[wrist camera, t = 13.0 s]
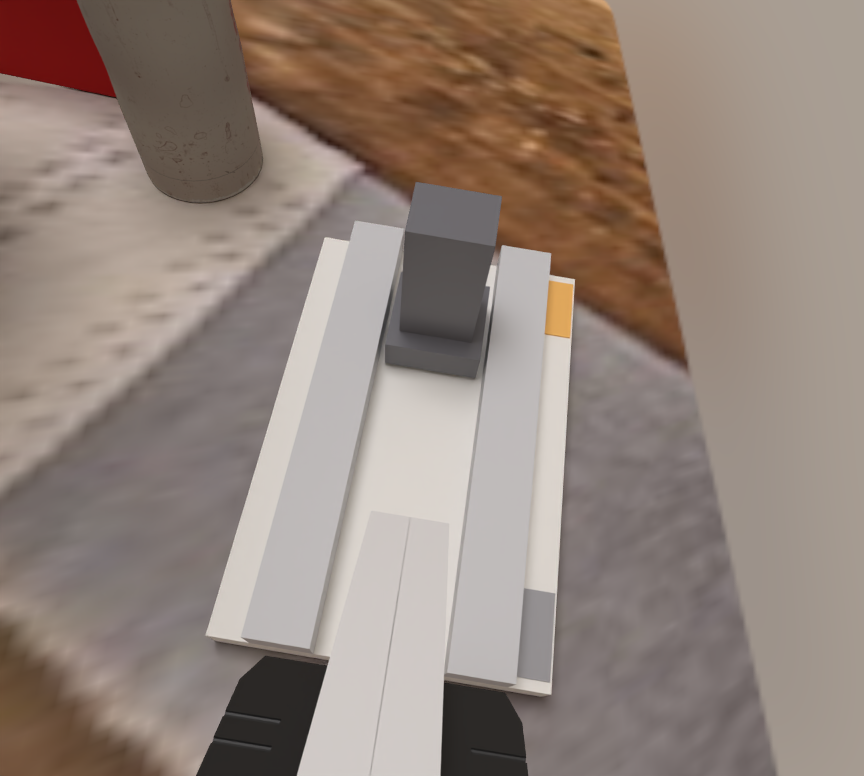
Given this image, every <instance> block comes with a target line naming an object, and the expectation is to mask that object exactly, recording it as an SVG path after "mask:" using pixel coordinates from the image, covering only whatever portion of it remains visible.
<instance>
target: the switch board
mask: <svg viewBox="0 0 864 776" xmlns="http://www.w3.org/2000/svg"><path fill="white" fill-rule="evenodd" d="M403 240H404V229H403V228H397V227H391V226H385V225H379V224H373V223H367V222H361V221H355V223H354V227H353V230H352V234H351V238H350V241H344V240H338V239H333V238H327V237H325V239H324V242H323V245H322V249H321V252H320V255H319V259H318V262H317V265H316V269H315V272H314V275H313V279H312V282H311V285H310V289H309V292H308V295H307V299H306V302H305V305H304V309H303V312H302V315H301V319H300V322H299V325H298V329H297V332H296V335H295V339H294V342H293V345H292V349H291V352H290V355H289V359H288V362H287V365H286V369H285V372H284V376H283V379H282V382H281V386H280V389H279V392H278V396H277V399H276V402H275V406H274V409H273V412H272V416H271V419H270V422H269V426H268V429H267V432H266V436H265V439H264V442H263V446H262V449H261V452H260V456H259V459H258V462H257V466H256V469H255V472H254V476H253V479H252V482H251V486H250V489H249V492H248V496H247V499H246V502H245V506H244V509H243V512H242V516H241V519H240V522H239V526H238V529H237V532H236V536H235V539H234V542H233V546H232V549H231V552H230V556H229V559H228V562H227V566H226V569H225V572H224V576H223V579H222V582H221V586H220V589H219V592H218V596H217V599H216V602H215V606H214V609H213V612H212V616H211V619H210V623H209V626H208V629H207V633H206V636H207V637H209V638H211V639H213V640H214V641H219V642H224V643H230V644H236V645H242V646H248V647H254V648H259V649H265V650H271V651H277V652H283V653H289V654H294V655H300V656H306V657H312V658H318V659H324V660H329V659H330V655H331V652H332V648H333V645H334V641H335V637H336V634H337V630H338V627H339V623H340V620H341V616H342V612H343V609H344V605H345V602H346V598H347V595H348V591H349V588H350V584H351V580H352V577H353V573H354V570H355V566H356V563H357V559H358V555H359V552H360V548H361V545H362V541H363V538H364V534H365V530H366V527H367V523H368V520H369V516H370V513H371V511H377V512H383V513H389V514H395V515H401V516H407V517H413V518H419V519H425V520H431V521H437V522H443V523H449V548H448V576H447V604H446V632H445V660H444V680H446V681H452V682H458V683H464V684H469V685H475V686H481V687H487V688H493V689H499V690H504V691H510V692H516V693H522V694H528V695H534V696H539V697H543V696H547V695H551V688H552V670H553V653H554V635H555V618H556V600H557V582H558V565H559V547H560V530H561V512H562V495H563V477H564V460H565V442H566V425H567V407H568V390H569V372H570V355H571V337H572V320H573V302H574V285H575V279H569V278H563V277H557V276H552V275H549V273H550V260H551V253H545V252H539V251H533V250H527V249H521V248H515V247H509V246H503V245H502V247H501V251H500V255H499V259H498V263H497V266H492V265H491V266H490V270H489V274H488V278H487V282H486V286H489V287H490V292H489V299H488V307H487V314H486V322H485V329H484V336H483V344H482V351H481V359H480V363H479V367H478V370H477V374H476V377H475V378H471V377H465V376H459V375H453V374H447V373H441V372H435V371H429V370H423V369H417V368H412V367H406V366H400V365H394V364H388V363H385V342H386V338H387V333H388V329H389V324H390V320H391V315H392V310H393V306H394V301H395V297H396V292H397V288H398V283H399V279H400V274H401V272H403V258H404V250H403Z"/></svg>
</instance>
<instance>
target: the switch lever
mask: <svg viewBox="0 0 864 776" xmlns="http://www.w3.org/2000/svg"><path fill="white" fill-rule="evenodd" d="M501 200H502V196H496V195H490V194H485V193H479V192H473V191H467V190H461V189H455V188H449V187H443V186H437V185H431V184H425V183H419V182H416V185H415V189H414V193H413V198H412V202H411V207H410V211H409V216H408V220H407V225H406V229H405V241H404V258H403V272H401V274H400V279H399V283H398V288H397V292H396V297H395V301H394V306H393V310H392V315H391V320H390V324H389V329H388V333H387V338H386V342H385V363H388V364H394V365H400V366H406V367H412V368H417V369H423V370H429V371H435V372H441V373H447V374H453V375H459V376H465V377H471V378H475V377H476V374H477V370H478V367H479V363H480V359H481V351H482V344H483V336H484V329H485V322H486V314H487V307H488V299H489V292H490V287H489V286H486V282H487V278H488V274H489V270H490V266H491V262H492V258H493V253H494V249H495V244H496V237H497V230H498V222H499V215H500V207H501Z"/></svg>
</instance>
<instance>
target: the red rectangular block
mask: <svg viewBox="0 0 864 776" xmlns="http://www.w3.org/2000/svg"><path fill="white" fill-rule="evenodd" d="M0 73H2V74H7V75H11V76H16V77H21V78H26V79H31V80H36V81H40V82H45V83H50V84H55V85H59V86H64V87H69V88H74V89H79V90H83V91H88V92H93V93H98V94H103V95H108V96H112V97H116V94H115V91H114V89H113V86H112V83H111V80H110V77H109V75H108V72H107V69H106V67H105V64H104V62H103V60H102V57H101V55H100V53H99V51H98V49H97V47H96V45H95V43H94V40H93V38H92V36H91V34H90V32H89V29H88V27H87V24H86V22H85V20H84V17H83V15H82V12H81V10H80V7H79V5H78V3H77V0H0Z"/></svg>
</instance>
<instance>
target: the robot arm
mask: <svg viewBox="0 0 864 776" xmlns="http://www.w3.org/2000/svg"><path fill="white" fill-rule="evenodd" d="M448 548H449V523H443V522H437V521H431V520H425V519H419V518H413V517H407V516H401V515H395V514H389V513H383V512H377V511H371V513H370V516H369V520H368V523H367V527H366V530H365V534H364V538H363V541H362V545H361V548H360V552H359V555H358V559H357V563H356V566H355V570H354V573H353V577H352V580H351V584H350V588H349V591H348V595H347V598H346V602H345V605H344V609H343V612H342V616H341V620H340V623H339V627H338V630H337V634H336V637H335V641H334V645H333V648H332V652H331V655H330V659H329V662H328V666H325V665H318V664H312V663H306V662H300V661H294V660H288V659H282V658H276V657H270V656H265V657H264V658H262V659H261V660H260V661H259V662H258V663H257V664H256V665H255V666H254V667H253V668H251V669H250V670H249V671H248V672H247V673H246V674H245V675H244V676H243V677H242V678H240V680H239V682H238V684H237V686H236V688H235V691H234V693H233V695H232V697H231V700H230V702H229V704H228V706H227V708H226V712H225V715H224V716H223V717H222V719H221V722H220V724H219V726H218V728H217V731H216V733H215V735H214V739H213V742H212V743H211V744H210V746H209V748H208V750H207V753H206V755H205V757H204V759H203V762H202V764H201V766H200V768H199V770H198V773H197V775H196V776H528V770H527V763H526V752H525V743H524V735H523V726H522V722H521V720H520V718H519V717H518V715H517V713H516V711H515V710H514V708H513V706H512V704H511V703H510V701H509V699H508V697H507V695H506V694H505V693H503V692H497V691H491V690H485V689H479V688H473V687H467V686H461V685H455V684H449V683H444V660H445V632H446V604H447V576H448Z"/></svg>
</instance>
